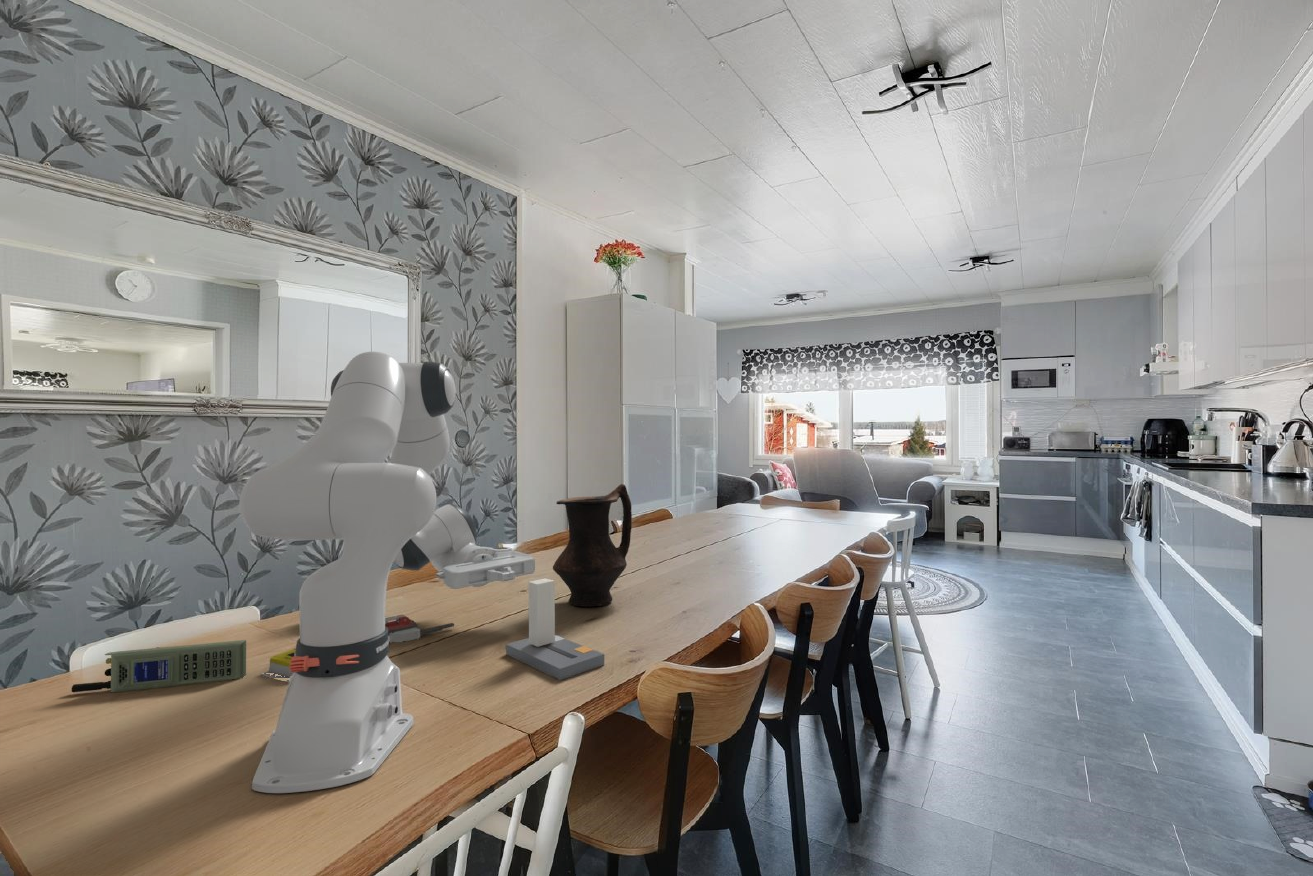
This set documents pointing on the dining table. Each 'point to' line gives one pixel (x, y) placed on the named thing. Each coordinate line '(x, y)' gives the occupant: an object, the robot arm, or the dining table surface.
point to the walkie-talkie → (407, 629)
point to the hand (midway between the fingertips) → (509, 576)
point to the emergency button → (281, 665)
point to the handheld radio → (172, 666)
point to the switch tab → (541, 612)
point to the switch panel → (556, 657)
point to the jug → (593, 548)
